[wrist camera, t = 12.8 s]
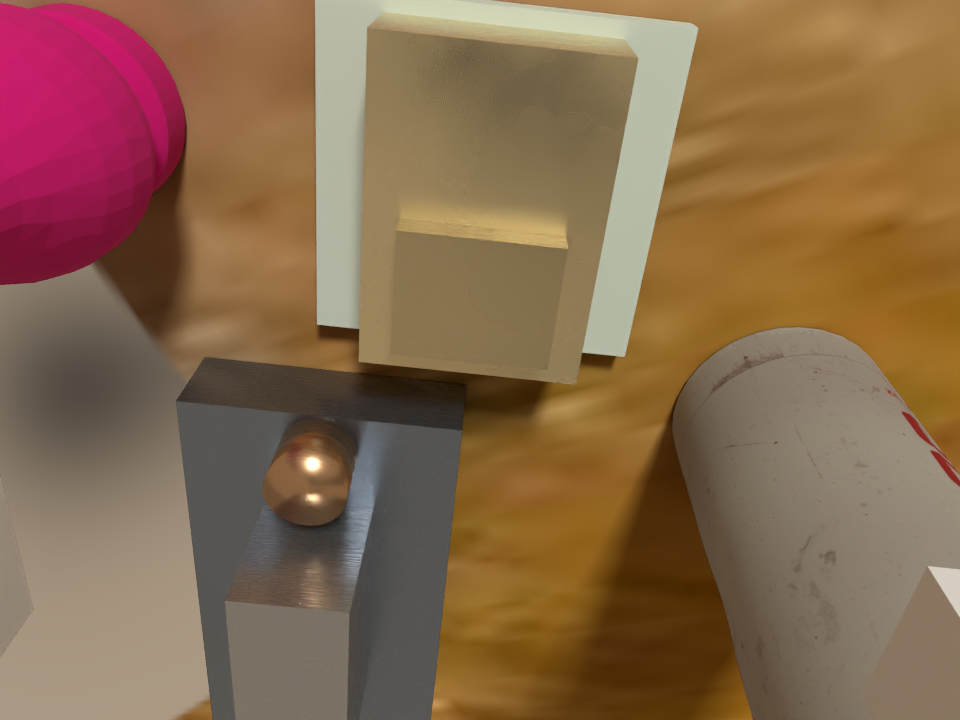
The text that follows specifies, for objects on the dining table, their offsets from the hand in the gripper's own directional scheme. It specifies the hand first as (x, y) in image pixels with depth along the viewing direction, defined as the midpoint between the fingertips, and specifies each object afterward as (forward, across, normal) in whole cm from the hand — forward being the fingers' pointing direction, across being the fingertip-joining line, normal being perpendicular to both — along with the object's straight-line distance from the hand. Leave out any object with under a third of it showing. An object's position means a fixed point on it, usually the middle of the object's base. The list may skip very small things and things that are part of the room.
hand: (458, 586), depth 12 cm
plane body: (+18, +5, +16) cm, 25 cm away
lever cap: (+16, 0, -1) cm, 16 cm away
